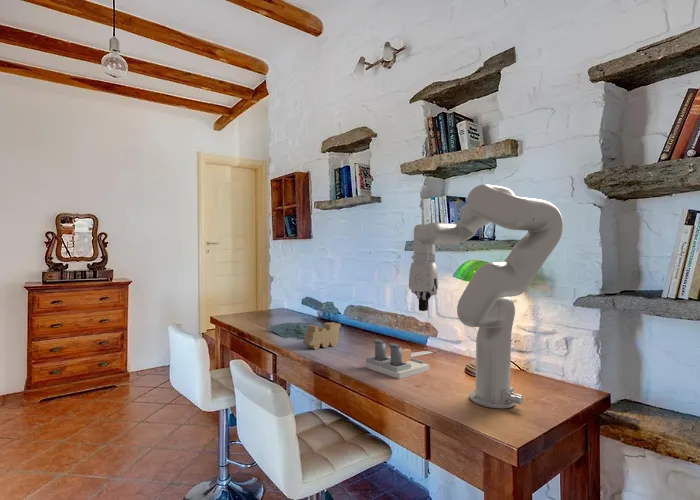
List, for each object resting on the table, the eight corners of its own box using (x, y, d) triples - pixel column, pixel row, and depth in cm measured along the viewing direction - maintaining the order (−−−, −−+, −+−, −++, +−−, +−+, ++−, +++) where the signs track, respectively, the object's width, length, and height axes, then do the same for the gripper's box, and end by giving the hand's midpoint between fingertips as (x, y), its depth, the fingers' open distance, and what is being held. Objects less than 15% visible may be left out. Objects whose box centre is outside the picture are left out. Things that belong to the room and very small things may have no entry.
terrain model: (267, 331, 210) (267, 322, 210) (313, 326, 226) (314, 317, 226) (289, 347, 189) (290, 337, 189) (338, 340, 205) (339, 331, 205)
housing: (429, 370, 145) (430, 342, 145) (399, 379, 134) (400, 349, 134) (395, 360, 157) (395, 334, 157) (365, 367, 147) (365, 340, 147)
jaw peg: (404, 368, 140) (404, 345, 140) (396, 370, 137) (396, 347, 137) (394, 364, 144) (394, 342, 144) (386, 366, 141) (386, 344, 141)
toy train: (302, 348, 174) (303, 325, 174) (333, 343, 185) (333, 321, 185) (310, 351, 170) (310, 327, 170) (341, 345, 181) (341, 323, 181)
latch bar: (411, 360, 150) (411, 349, 150) (400, 362, 146) (401, 352, 146) (406, 359, 152) (406, 348, 152) (396, 361, 148) (396, 350, 148)
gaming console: (423, 346, 180) (441, 350, 172) (423, 347, 180) (441, 352, 172) (387, 353, 167) (403, 358, 159) (387, 355, 167) (403, 360, 159)
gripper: (401, 258, 145) (400, 308, 145) (434, 259, 134) (433, 314, 134) (414, 258, 150) (414, 307, 150) (447, 259, 139) (447, 312, 139)
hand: (423, 310), depth 142 cm, fingers closed
